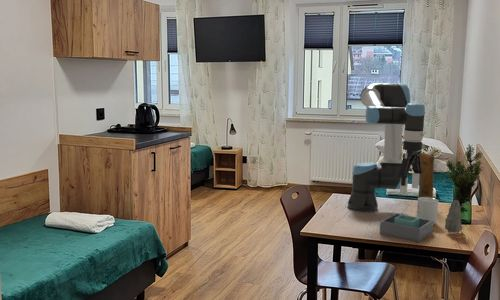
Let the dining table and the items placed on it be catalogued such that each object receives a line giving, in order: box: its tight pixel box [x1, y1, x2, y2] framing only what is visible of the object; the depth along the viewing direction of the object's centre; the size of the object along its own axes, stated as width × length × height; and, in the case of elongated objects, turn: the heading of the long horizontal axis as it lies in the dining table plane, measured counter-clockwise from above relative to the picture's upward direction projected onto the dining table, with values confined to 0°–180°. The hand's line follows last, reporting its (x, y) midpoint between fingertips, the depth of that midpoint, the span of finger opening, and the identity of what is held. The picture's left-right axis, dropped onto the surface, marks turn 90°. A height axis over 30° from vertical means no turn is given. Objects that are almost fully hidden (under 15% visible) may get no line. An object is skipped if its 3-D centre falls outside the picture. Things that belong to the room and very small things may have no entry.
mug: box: [416, 197, 439, 225], centre depth 222 cm, size 12×9×11 cm
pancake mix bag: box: [417, 152, 435, 199], centre depth 252 cm, size 7×19×28 cm, turn 0°
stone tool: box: [444, 199, 463, 234], centre depth 206 cm, size 8×3×15 cm, turn 98°
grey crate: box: [379, 213, 434, 243], centre depth 204 cm, size 17×17×6 cm
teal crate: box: [394, 214, 420, 228], centre depth 204 cm, size 8×8×6 cm
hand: (409, 190), depth 202 cm, fingers open, 13 cm apart
